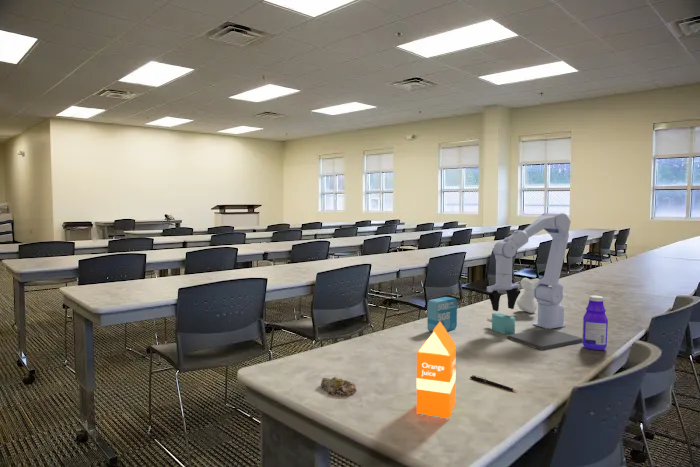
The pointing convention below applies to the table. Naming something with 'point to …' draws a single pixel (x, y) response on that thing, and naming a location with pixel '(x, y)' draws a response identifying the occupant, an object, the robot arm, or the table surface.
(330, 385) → the mineral rock
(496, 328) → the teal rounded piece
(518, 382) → the table surface
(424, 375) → the orange juice
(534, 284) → the white teddy bear
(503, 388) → the fountain pen
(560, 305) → the robot arm
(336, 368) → the table surface
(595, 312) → the bottle
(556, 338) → the rubber mat
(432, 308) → the data package
